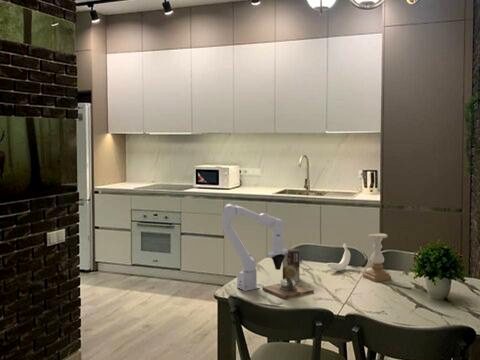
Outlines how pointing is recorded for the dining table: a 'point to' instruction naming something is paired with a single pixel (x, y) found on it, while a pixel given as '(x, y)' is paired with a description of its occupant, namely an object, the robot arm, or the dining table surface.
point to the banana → (343, 263)
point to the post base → (287, 291)
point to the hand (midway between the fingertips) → (277, 269)
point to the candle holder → (377, 260)
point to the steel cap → (288, 283)
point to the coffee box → (291, 265)
